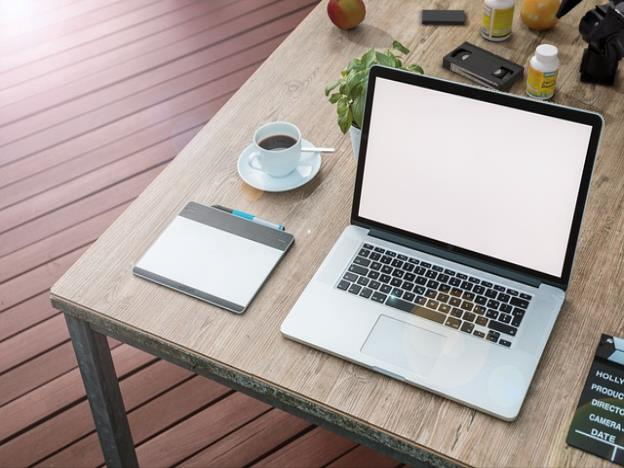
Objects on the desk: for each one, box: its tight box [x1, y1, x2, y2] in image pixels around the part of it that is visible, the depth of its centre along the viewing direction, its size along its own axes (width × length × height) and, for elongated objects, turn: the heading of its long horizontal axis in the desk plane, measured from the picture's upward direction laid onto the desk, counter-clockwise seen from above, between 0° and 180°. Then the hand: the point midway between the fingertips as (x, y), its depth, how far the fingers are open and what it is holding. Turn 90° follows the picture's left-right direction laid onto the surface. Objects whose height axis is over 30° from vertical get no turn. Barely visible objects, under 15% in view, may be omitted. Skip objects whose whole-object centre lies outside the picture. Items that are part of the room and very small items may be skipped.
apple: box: [326, 0, 367, 31], centre depth 178 cm, size 8×8×8 cm
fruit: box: [519, 0, 561, 31], centre depth 176 cm, size 8×8×8 cm
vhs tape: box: [441, 40, 526, 92], centre depth 167 cm, size 14×8×2 cm, turn 46°
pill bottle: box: [480, 0, 516, 42], centre depth 173 cm, size 6×6×11 cm
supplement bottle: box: [525, 43, 561, 101], centre depth 159 cm, size 5×5×10 cm
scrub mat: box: [421, 9, 466, 26], centre depth 182 cm, size 9×5×1 cm, turn 84°
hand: (571, 29), depth 154 cm, fingers open, 9 cm apart
